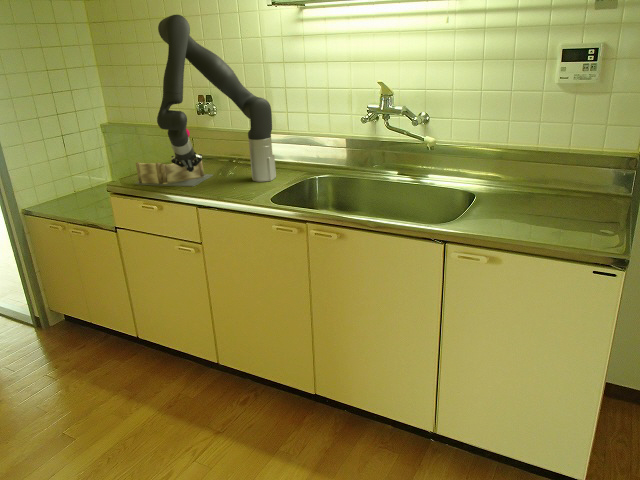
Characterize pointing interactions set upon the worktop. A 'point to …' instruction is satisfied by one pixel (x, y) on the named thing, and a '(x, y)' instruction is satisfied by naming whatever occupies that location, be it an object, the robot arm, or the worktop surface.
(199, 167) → the fence gate
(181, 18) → the robot arm
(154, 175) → the fence frame
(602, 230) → the worktop surface
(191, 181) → the card
